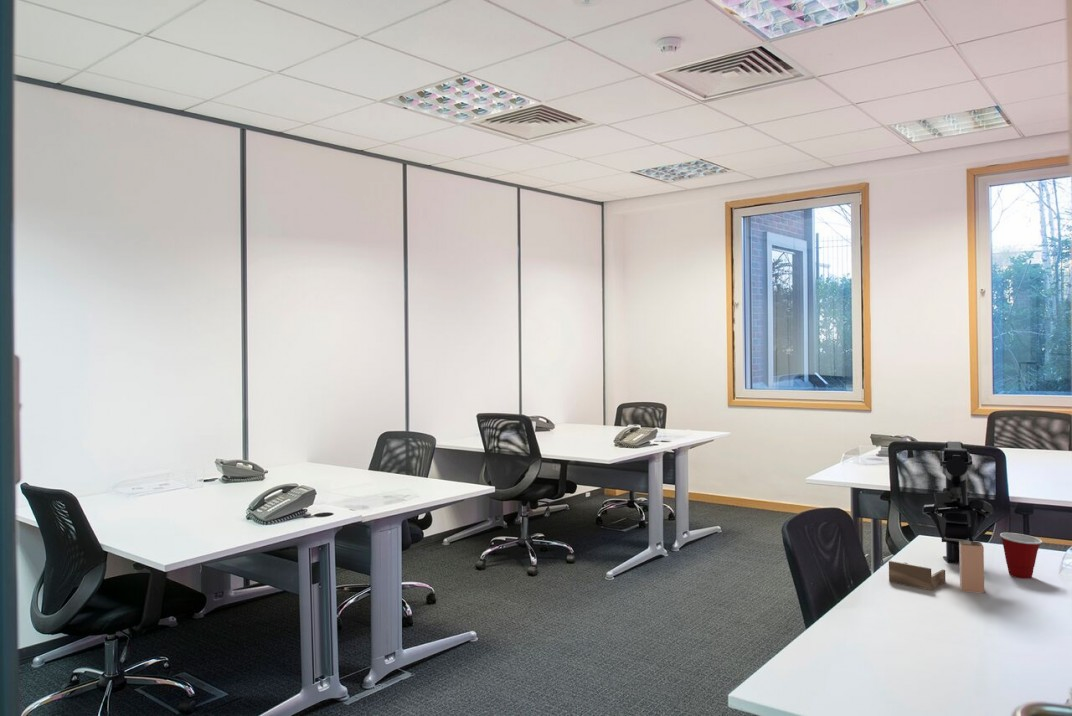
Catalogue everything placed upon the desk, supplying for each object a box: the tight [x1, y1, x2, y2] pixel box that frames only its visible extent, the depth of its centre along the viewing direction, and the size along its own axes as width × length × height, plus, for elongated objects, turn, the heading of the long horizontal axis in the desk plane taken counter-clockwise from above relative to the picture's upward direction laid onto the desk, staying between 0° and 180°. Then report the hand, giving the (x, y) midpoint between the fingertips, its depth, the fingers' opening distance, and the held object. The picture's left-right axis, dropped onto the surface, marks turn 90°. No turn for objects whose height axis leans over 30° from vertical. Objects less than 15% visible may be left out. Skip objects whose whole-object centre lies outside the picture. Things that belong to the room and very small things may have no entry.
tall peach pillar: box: [959, 540, 985, 594], centre depth 214 cm, size 6×6×13 cm
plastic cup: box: [999, 532, 1043, 580], centre depth 225 cm, size 11×11×12 cm
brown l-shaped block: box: [888, 560, 946, 591], centre depth 221 cm, size 11×12×6 cm
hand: (957, 537), depth 224 cm, fingers open, 9 cm apart
